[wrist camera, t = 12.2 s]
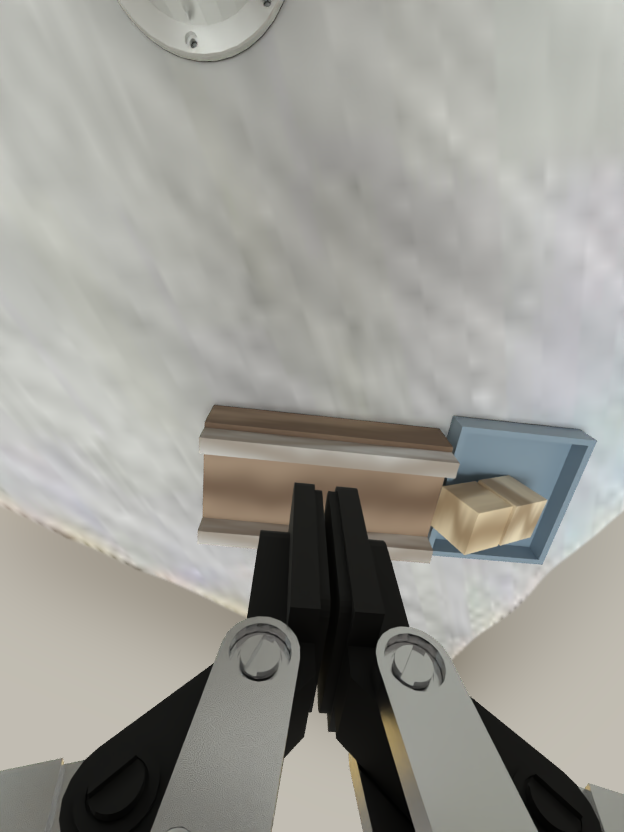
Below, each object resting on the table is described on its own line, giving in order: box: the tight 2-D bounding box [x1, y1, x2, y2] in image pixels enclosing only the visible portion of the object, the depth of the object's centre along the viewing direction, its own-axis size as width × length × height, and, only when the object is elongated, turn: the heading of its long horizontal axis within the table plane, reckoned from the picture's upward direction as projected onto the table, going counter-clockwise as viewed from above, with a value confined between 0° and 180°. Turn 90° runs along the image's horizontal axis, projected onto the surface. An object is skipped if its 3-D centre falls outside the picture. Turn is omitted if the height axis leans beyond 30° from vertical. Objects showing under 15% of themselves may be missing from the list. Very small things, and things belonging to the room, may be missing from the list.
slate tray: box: [428, 416, 597, 565], centre depth 41 cm, size 15×13×2 cm
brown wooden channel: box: [197, 405, 460, 563], centre depth 39 cm, size 12×22×6 cm, turn 83°
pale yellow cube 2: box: [478, 475, 547, 546], centre depth 40 cm, size 4×4×4 cm
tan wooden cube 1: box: [431, 481, 513, 555], centre depth 38 cm, size 4×4×4 cm
